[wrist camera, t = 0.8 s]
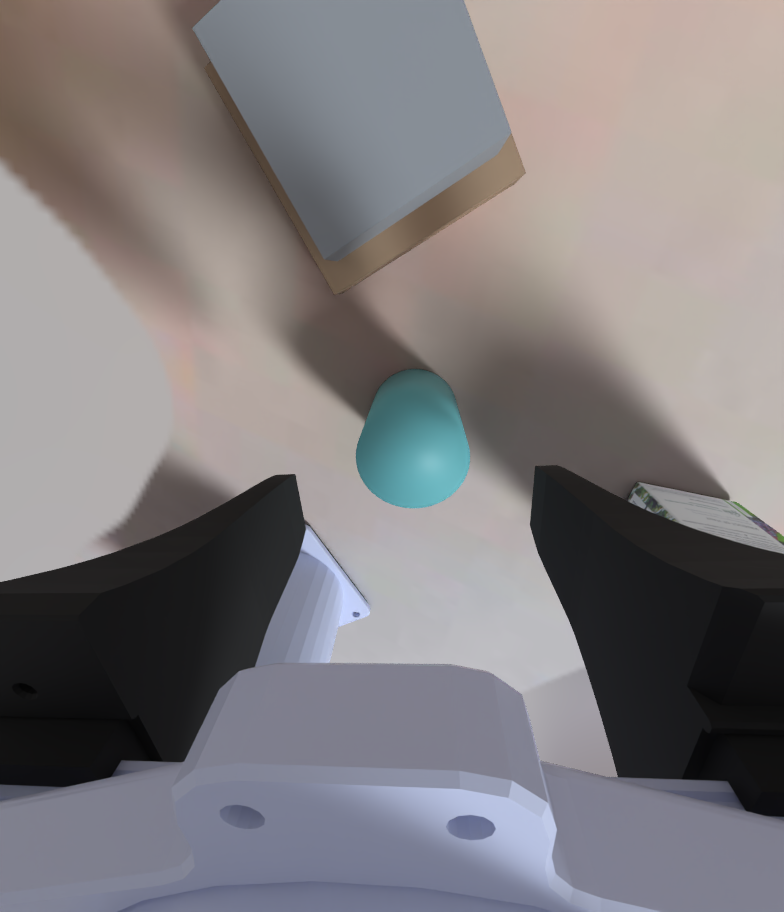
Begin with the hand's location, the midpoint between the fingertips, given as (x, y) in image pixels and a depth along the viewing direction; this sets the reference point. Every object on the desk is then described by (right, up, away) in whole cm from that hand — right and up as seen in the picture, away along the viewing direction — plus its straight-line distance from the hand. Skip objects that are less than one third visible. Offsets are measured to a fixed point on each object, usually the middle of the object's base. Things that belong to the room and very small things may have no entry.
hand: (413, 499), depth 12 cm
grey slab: (-2, +14, +2) cm, 14 cm away
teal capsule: (0, +4, +9) cm, 10 cm away
